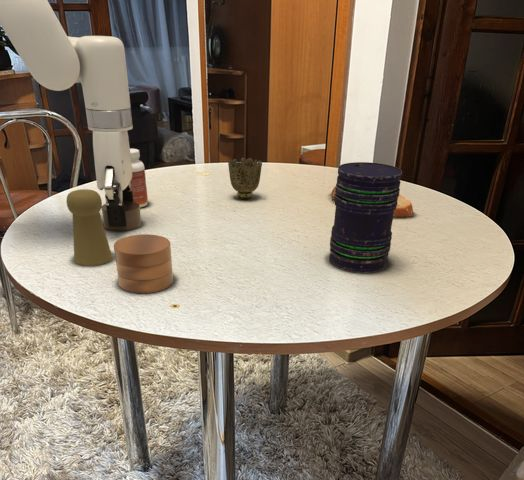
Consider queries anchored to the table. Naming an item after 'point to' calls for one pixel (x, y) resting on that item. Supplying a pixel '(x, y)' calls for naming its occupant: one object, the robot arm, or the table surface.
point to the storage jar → (364, 216)
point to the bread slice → (402, 208)
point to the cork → (88, 228)
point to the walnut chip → (131, 217)
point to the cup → (245, 176)
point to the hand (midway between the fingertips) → (122, 218)
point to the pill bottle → (138, 179)
